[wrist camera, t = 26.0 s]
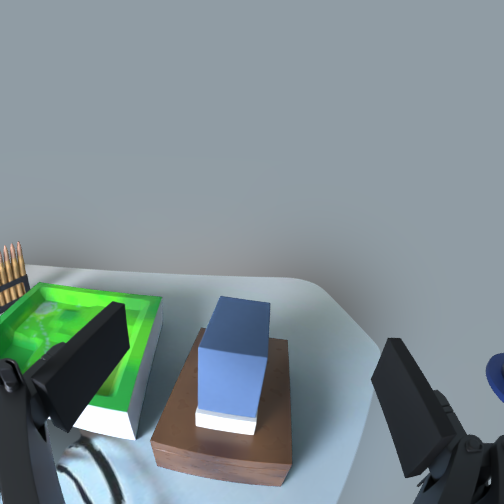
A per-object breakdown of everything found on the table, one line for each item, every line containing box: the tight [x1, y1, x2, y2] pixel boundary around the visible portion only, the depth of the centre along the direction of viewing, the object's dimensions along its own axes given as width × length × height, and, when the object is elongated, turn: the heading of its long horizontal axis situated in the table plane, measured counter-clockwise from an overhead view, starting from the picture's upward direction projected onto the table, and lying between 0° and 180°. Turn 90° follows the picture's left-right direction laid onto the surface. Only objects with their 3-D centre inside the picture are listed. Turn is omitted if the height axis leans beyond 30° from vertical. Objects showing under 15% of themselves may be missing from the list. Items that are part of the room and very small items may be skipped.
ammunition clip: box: [0, 241, 30, 314], centre depth 37 cm, size 11×2×12 cm, turn 168°
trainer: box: [196, 296, 270, 435], centre depth 26 cm, size 5×14×9 cm, turn 176°
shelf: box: [150, 328, 292, 486], centre depth 28 cm, size 12×20×5 cm, turn 176°
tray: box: [0, 282, 163, 440], centre depth 31 cm, size 25×25×5 cm
